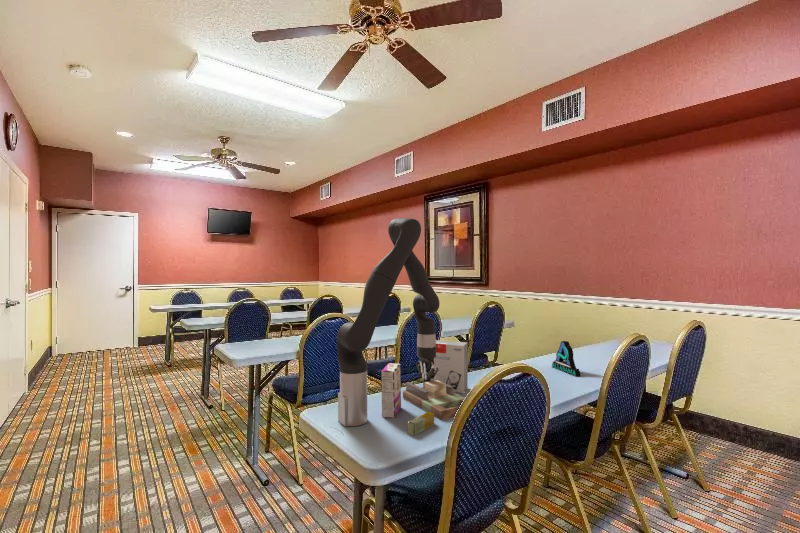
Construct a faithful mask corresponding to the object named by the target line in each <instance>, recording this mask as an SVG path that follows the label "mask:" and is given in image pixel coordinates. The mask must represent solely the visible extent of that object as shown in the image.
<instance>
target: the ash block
mask: <svg viewBox="0 0 800 533" xmlns="http://www.w3.org/2000/svg"><path fill="white" fill-rule="evenodd" d="M423 387H424V390H426V391H428V392H429V396H430V397H432V398H437V397H442V396H446V384H445V383H443V382H440V381H438V380H435V381H429V382H424V386H423Z"/></svg>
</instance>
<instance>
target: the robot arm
mask: <svg viewBox="0 0 800 533" xmlns="http://www.w3.org/2000/svg"><path fill="white" fill-rule="evenodd" d="M388 224H389V225H388V228H387V232H388V236H389V238H390V241H391V242H392V244H393V248H392V249H391V251H389V253H387V255H385V256H384V257H383V258H382V259H381V260H380V261H379V262H378V263H377V264H376V265H375V266H374V267H373V269H372V271H371V273H370V275H369V277H368V279H367V280H366V284H364V285H365V287H364V290H363V291H364V292H363V298H362V305H361V308H360V311H359V313H358V315H357V316H356V319H355V320H354V322H351V321H350V322H349V321H348V322H346V323H343V325H341V326H340V328H339V329H338V332H337V334H336V348H337V349H336V350H337V351H336V352H337V362H338V366H339V392H338V393H337V421H338V422H339V423H340V424H341V425H342V426H343V427H357V426H358V427H359V426H361V425H364V424H366V423H367V422H368V416H369V415H368V363H367V360H366V358H365V357H364V354H363V351H365V350H366V349H367V348H368V346H369V345H370V343H371V341H372V338H373V335H374V332H375V329H376V327H377V324H378V321H379V318H380V316H381V314H382V312H383V310H384V308H385V305H386V303H387V301H388V299H389V297H390V295H391V293H392V291H393V289H394V287H395V286H396V282H397V280H398V277H399V275H400V273H401V272H402V270H403V268H405V271H406V274H407V276H408V279H409V284H410V286H411V289H412V291H413V292H414V294H415V293H416V295H415V296H414V297H413V300H412V308H413V312H414V316H415V319H416V323H417V337H416V357H417V358H418V361H417V362H415V365H416V368H417V370H418V373H419V377H422V380H423V382H422V383H423V386H422V387H424V382H429V381H430V379H433V378H434V377H435V375H436V373H437V371H438V368H436V367H435V366H434V358H435V357H436V340H437V338H436V320H435V319H434V318H431V317H429V316H428V315H427V313H429V314H431V313H436V312H438V310H439V309H440V298H439V296H438V295H437V292H435V290H434V288H433V286H432V285H431V284H430V281H429V279H428V278H429V277H428V274H427V271H426V269H425V267H424V265H423V264H422V262H421V260H420V259H419V258H418V256H417V255H416V254H415V253H414V251H413V250H414V248H415V247H416V245H417V243H418V242H419V239H420V237H421V233H422V226H421V222H420V221H419V220H417V219H416V218H409V217H408V218H404V217H398V218H394V219H392V220H391V221H390V222H389V223H388Z"/></svg>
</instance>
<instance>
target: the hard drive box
mask: <svg viewBox="0 0 800 533" xmlns="http://www.w3.org/2000/svg"><path fill="white" fill-rule="evenodd" d="M468 346H469V344H468V342H465V341H455V340H454V341H452V340H439V339H438V340H437V339H436V357H435V358H434V366H435V367H436V368H438V371H437V373H436V375H435V377H434V379H436V380H439V381H441V382H443V383H446V384H448V385H450V386H453V387H454V393H461V394H464V393H465V392H466V391H467V390H468V380H469V379H468V375H469V374H468V366H469V365H468V364H469V363H468V362H469V361H468V359H469V358H468V357H469V356H468V355H469V352H468V350H469V348H468Z"/></svg>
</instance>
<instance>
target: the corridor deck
mask: <svg viewBox="0 0 800 533" xmlns="http://www.w3.org/2000/svg"><path fill="white" fill-rule="evenodd" d="M435 380H436V379H434V378H433V379H430V381H435ZM438 381H439V380H438ZM440 382H441V381H440ZM445 384H446V383H445ZM403 398H404V399H403ZM464 398H466V397H464V396H462V395H460V394H458V393H457V392H454V387H453V386H450V385H448V384H446V396H442V397H437V398H432V397H430V396H429V392H428V391H426V390H424V386H422V387H419V386H418V385H416V384H414V383H412V382H409V381H407V382H405V390H402V399H403V400H405V401H406V402H408V401H409V402H408V403H410V404H412V405H414V406H416V407H417V408H419V409H420V410H422V411H424V412H425V413H427V412H431V413H434V418H436V419H438V420H440V421H443V420H447V419H451V418H455V417H454V416H455V414H456V412H457V410H458V409H459V407H460V405H461V403H462V402H463V400H464Z"/></svg>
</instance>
